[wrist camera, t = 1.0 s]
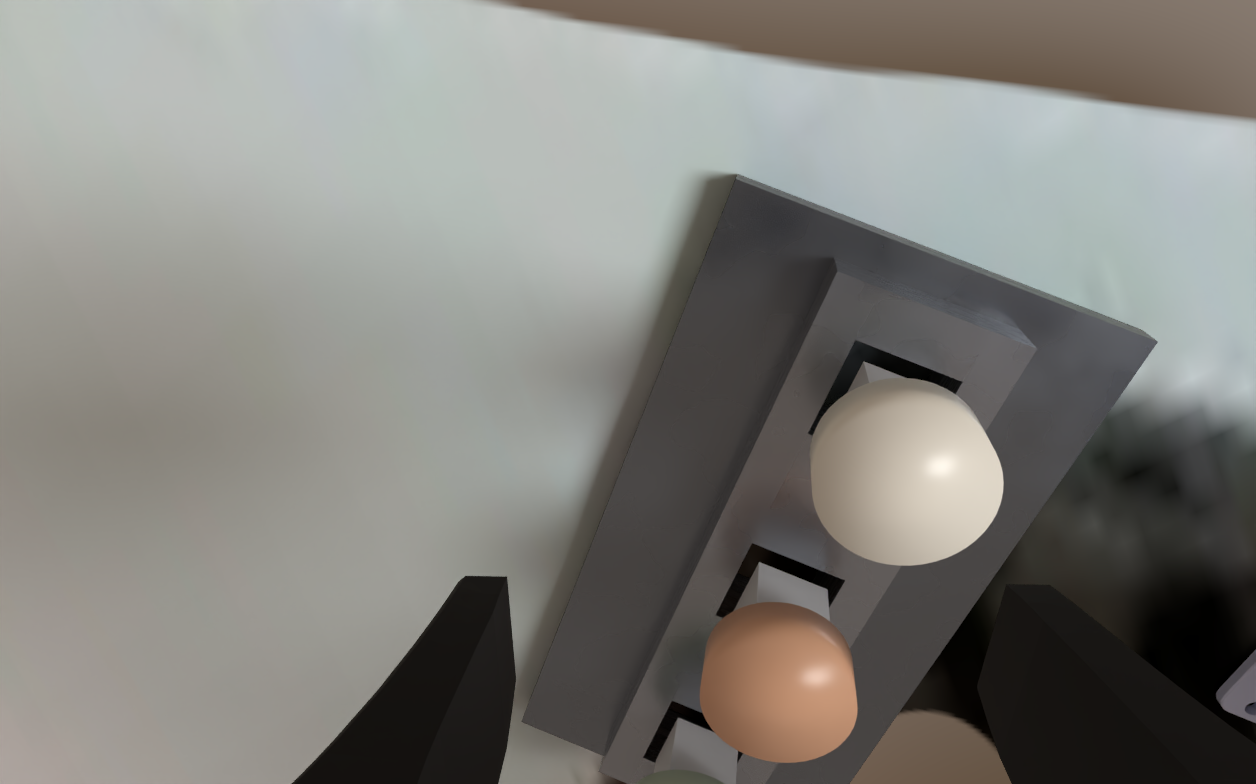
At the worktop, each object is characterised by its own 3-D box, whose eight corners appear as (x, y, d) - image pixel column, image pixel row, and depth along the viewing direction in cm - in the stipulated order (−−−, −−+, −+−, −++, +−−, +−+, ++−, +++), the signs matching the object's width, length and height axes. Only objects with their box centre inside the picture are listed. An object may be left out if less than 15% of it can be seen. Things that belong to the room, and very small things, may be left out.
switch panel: (1142, 329, 22) (1185, 362, 19) (808, 818, 31) (810, 880, 28) (737, 174, 22) (732, 187, 20) (529, 702, 31) (508, 754, 29)
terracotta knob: (868, 578, 23) (885, 680, 19) (812, 672, 25) (816, 783, 21) (742, 527, 23) (734, 619, 19) (694, 624, 25) (677, 726, 21)
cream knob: (992, 375, 20) (1041, 448, 16) (917, 498, 22) (945, 590, 18) (846, 318, 20) (860, 378, 16) (783, 445, 22) (783, 525, 18)
